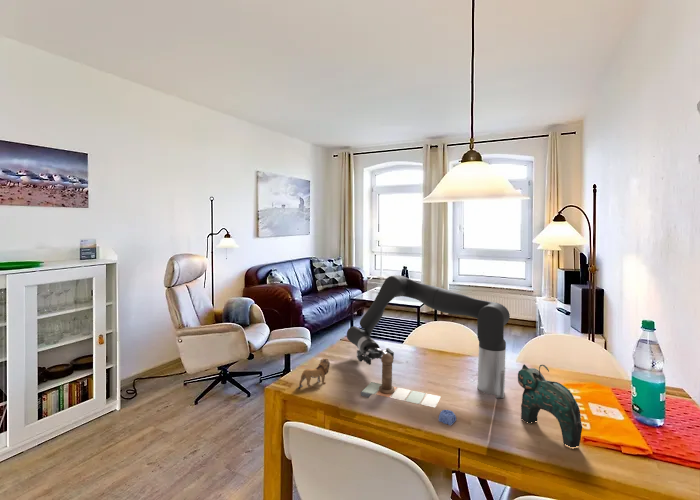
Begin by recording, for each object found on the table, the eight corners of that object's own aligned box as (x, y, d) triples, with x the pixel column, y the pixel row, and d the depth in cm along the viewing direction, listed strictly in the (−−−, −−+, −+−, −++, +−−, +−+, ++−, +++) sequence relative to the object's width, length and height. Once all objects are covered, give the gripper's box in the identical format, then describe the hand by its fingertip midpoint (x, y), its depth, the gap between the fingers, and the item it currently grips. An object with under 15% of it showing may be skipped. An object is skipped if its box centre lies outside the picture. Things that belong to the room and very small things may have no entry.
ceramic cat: (514, 417, 119) (516, 357, 118) (529, 414, 122) (532, 354, 120) (569, 453, 101) (573, 381, 100) (586, 448, 103) (590, 378, 102)
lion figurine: (324, 377, 150) (324, 355, 149) (333, 381, 146) (333, 358, 145) (294, 388, 140) (294, 364, 139) (303, 392, 136) (303, 368, 135)
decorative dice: (444, 420, 117) (444, 408, 117) (456, 424, 115) (456, 412, 114) (438, 425, 114) (438, 413, 114) (450, 430, 112) (450, 417, 111)
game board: (441, 399, 131) (441, 396, 131) (435, 412, 122) (435, 408, 122) (371, 384, 143) (371, 381, 143) (360, 395, 134) (360, 391, 134)
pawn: (396, 389, 136) (397, 352, 135) (391, 395, 131) (392, 357, 130) (382, 386, 139) (382, 350, 138) (376, 392, 133) (377, 354, 133)
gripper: (352, 339, 154) (363, 353, 138) (384, 337, 158) (398, 350, 142) (351, 357, 155) (362, 372, 139) (384, 354, 158) (398, 369, 142)
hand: (380, 361), depth 140 cm, fingers open, 8 cm apart
